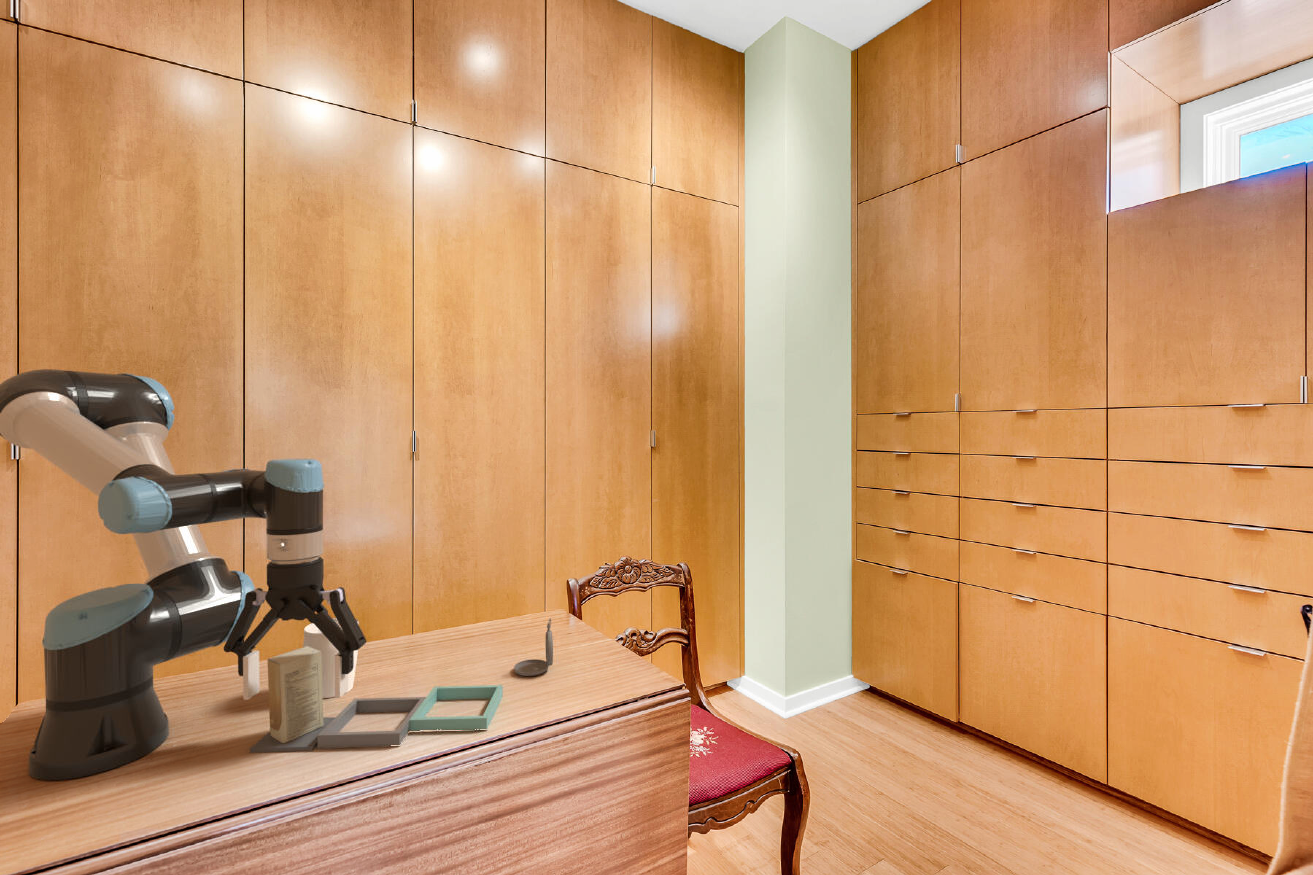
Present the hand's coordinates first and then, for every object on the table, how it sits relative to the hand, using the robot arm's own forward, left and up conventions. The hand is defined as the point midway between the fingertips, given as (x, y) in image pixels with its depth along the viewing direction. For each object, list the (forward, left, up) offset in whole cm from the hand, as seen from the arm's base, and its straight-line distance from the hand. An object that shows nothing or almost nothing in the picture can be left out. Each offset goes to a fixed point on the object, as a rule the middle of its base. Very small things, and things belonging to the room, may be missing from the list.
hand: (296, 694), depth 92 cm
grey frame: (+11, +2, -6) cm, 13 cm away
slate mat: (0, 0, -6) cm, 6 cm away
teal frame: (+23, +6, -6) cm, 25 cm away
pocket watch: (+34, +23, -7) cm, 41 cm away
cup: (-2, +16, -7) cm, 17 cm away
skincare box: (0, 0, -6) cm, 6 cm away
